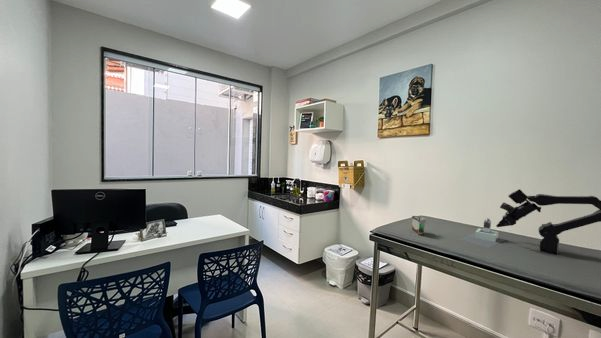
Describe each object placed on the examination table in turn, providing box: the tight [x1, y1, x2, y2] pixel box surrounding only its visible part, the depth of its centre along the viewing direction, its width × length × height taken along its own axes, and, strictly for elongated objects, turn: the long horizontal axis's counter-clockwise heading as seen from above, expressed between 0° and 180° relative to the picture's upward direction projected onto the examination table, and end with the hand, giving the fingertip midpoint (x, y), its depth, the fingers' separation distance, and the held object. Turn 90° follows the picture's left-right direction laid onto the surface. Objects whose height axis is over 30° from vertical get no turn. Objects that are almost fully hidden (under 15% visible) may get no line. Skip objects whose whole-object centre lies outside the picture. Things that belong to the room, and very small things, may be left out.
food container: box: [411, 215, 427, 236], centre depth 162 cm, size 12×6×10 cm, turn 179°
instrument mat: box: [457, 232, 506, 249], centre depth 151 cm, size 16×26×1 cm, turn 124°
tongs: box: [483, 218, 492, 234], centre depth 153 cm, size 3×4×12 cm
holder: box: [474, 228, 499, 242], centre depth 153 cm, size 10×10×4 cm
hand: (497, 225), depth 149 cm, fingers open, 9 cm apart
